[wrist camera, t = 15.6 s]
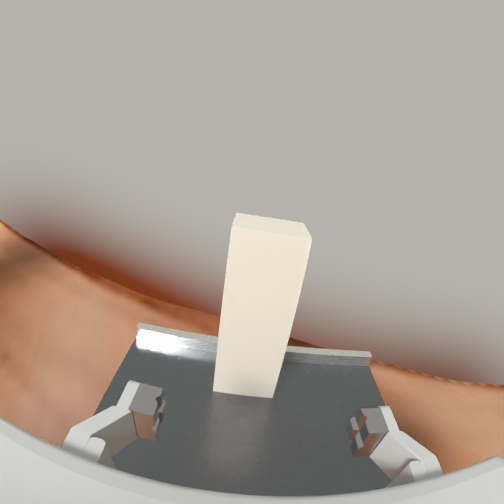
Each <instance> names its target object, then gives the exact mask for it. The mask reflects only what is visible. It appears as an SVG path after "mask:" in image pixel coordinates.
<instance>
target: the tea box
mask: <svg viewBox="0 0 504 504" xmlns="http://www.w3.org/2000/svg"><path fill="white" fill-rule="evenodd" d="M311 242H312V238H311V236H310V234H309V232H308V231H307V229H306V227H305V225H304V224H303V223H300V222H294V221H288V220H281V219H275V218H268V217H261V216H255V215H248V214H241V213H236V216H235V219H234V222H233V225H232V229H231V237H230V245H229V252H228V260H227V269H226V277H225V285H224V293H223V302H222V311H221V319H220V328H219V337H218V346H217V356H216V365H215V375H214V385H213V391H216V392H223V393H230V394H238V395H246V396H255V397H265V398H273V395H274V391H275V388H276V384H277V381H278V377H279V373H280V370H281V366H282V362H283V359H284V355H285V351H286V348H287V344H288V340H289V336H290V332H291V328H292V324H293V320H294V316H295V312H296V308H297V303H298V300H299V296H300V291H301V287H302V283H303V278H304V274H305V270H306V265H307V261H308V256H309V252H310V247H311Z"/></svg>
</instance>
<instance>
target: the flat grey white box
mask: <svg viewBox="0 0 504 504" xmlns="http://www.w3.org/2000/svg"><path fill="white" fill-rule="evenodd" d="M217 346H218V337H216V336H210V335H203V334H197V333H191V332H186V331H180V330H175V329H169V328H164V327H159V326H154V325H149V324H144V323H138V325H137V327H136V339H135V341H134V342H133V344H132V346H131V348H130V349H129V351H128V353H127V355H126V356H125V358H124V360H123V362H122V364H121V365H120V367H119V369H118V371H117V373H116V374H115V376H114V378H113V380H112V382H111V383H110V385H109V387H108V389H107V391H106V393H105V395H104V396H103V398H102V400H101V402H100V404H99V406H98V408H97V410H96V412H95V413H94V415H96V414H98V413H100V412H102V411H104V410H106V409H107V408H109V407H111V406H116V405H117V403H118V401H119V399H120V397H121V395H122V393H123V391H124V389H125V387H126V385H127V383H128V382H129V381H130V380H132V381H135V382H139V383H143V384H147V385H151V386H155V387H159V388H163V389H165V397H164V400H165V401H166V410H165V416H164V419H163V422H161V423H160V432H159V436H158V439H157V441H154V440H150V439H145V438H141V437H137V438H136V439H135V440H134V441H132V442H131V443H130V444H129V445H127V446H126V447H125V448H123V449H122V450H121V451H119V452H118V453H117V454H115V455H114V456H113V457H111V458H112V460H113V463H114V465H115V467H116V469H117V470H120V471H123V472H127V473H130V474H133V475H137V476H141V477H144V478H148V479H152V480H156V481H160V482H165V483H169V484H174V485H179V486H184V487H190V488H196V489H202V490H208V491H216V492H224V493H233V494H244V495H259V496H321V495H335V494H346V493H355V492H363V491H370V490H377V489H383V488H386V487H387V486H388V485H389V484H390V483H391V482H392V480H391V479H390V478H389V477H388V476H387V475H386V474H385V473H384V472H383V471H382V470H381V469H380V467H379V466H378V465H377V464H376V463H375V462H374V461H373V460H372V459H371V458H370V456H360V457H353V456H352V452H351V448H350V445H351V443H352V441H351V440H350V439H349V438H348V436H347V426H348V423H349V421H350V419H351V418H353V417H354V416H355V415H354V412H355V410H356V409H357V408H358V407H374V406H377V407H378V406H385V405H384V402H383V400H382V397H381V395H380V392H379V390H378V388H377V385H376V383H375V380H374V378H373V376H372V373H371V371H370V369H369V363H370V361H371V359H372V356H371V354H370V352H369V351H348V350H332V349H319V348H307V347H296V346H287V348H286V351H285V355H284V359H283V362H282V366H281V370H280V373H279V377H278V381H277V384H276V388H275V391H274V395H273V398H265V397H255V396H246V395H238V394H230V393H223V392H216V391H213V385H214V375H215V365H216V356H217ZM94 415H93V416H94Z"/></svg>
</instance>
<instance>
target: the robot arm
mask: <svg viewBox="0 0 504 504" xmlns="http://www.w3.org/2000/svg"><path fill="white" fill-rule="evenodd" d="M164 397H165V389H163V388H159V387H155V386H151V385H147V384H143V383H139V382H135V381H132V380H130V381H129V382H128V383H127V385H126V387H125V389H124V391H123V393H122V395H121V397H120V399H119V401H118V403H117V405H116V406H111V407H109V408H107V409H106V410H104V411H102V412H100V413H98V414H96V415H94V416H92V417H91V418H89V419H87V420H85V421H83V422H81V423H79V424H77V425H75V426H73V427H72V428H71V429H70V431H69V433H68V435H67V437H66V439H65V440H64V442H63V444H62V446H61V448H59V447H57V446H55V445H53V444H51V443H49V442H47V441H45V440H42V439H40V438H38V437H36V436H35V435H33V434H31V433H29V432H27V431H25V430H23V429H21V428H20V427H18V426H16V425H14V424H13V423H11V422H9V421H7V420H6V419H4V418H3V417H1V416H0V504H504V458H502V457H500V456H494V457H491V458H488V459H486V460H484V461H481V462H478V463H476V464H473V465H470V466H468V467H465V468H462V469H459V470H456V471H453V472H450V473H446V474H443V472H442V469H441V467H440V464H439V462H438V460H437V457H436V456H435V455H434V454H433V453H431V452H430V451H429V450H427V449H426V448H425V447H423V446H422V445H420V444H419V443H418V442H416V441H415V440H414V439H412V438H411V437H410V436H408V435H407V434H406V433H404V432H403V431H400V430H399V428H398V425H397V423H396V421H395V418H394V416H393V414H392V411H391V409H390V407H389V406H378V407H377V406H374V407H358V408H357V409H356V410H355V412H354V415H355V416H354V417H353V418H351V419H350V421H349V423H348V426H347V436H348V438H349V439H350V440H351V441H352V443H351V445H350V448H351V452H352V456H353V457H360V456H370V458H371V459H372V460H373V461H374V462H375V463H376V464H377V465H378V466H379V467H380V469H381V470H382V471H383V472H384V473H385V474H386V475H387V476H388V477H389V478H390V479H391V480H392V482H391V483H390V484H389V485H388V486H387V487H386V488H383V489H377V490H370V491H363V492H355V493H346V494H335V495H321V496H259V495H244V494H233V493H224V492H216V491H208V490H202V489H196V488H190V487H184V486H179V485H174V484H169V483H165V482H160V481H156V480H152V479H148V478H144V477H141V476H137V475H133V474H130V473H127V472H123V471H120V470H117V469H116V467H115V465H114V463H113V460H112V458H111V457H113V456H114V455H115V454H117V453H118V452H119V451H121V450H122V449H123V448H125V447H126V446H127V445H129V444H130V443H131V442H132V441H134V440H135V439H136V438H137V437H141V438H145V439H150V440H154V441H157V439H158V436H159V432H160V423H161V422H163V419H164V416H165V410H166V401H165V400H164Z"/></svg>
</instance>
